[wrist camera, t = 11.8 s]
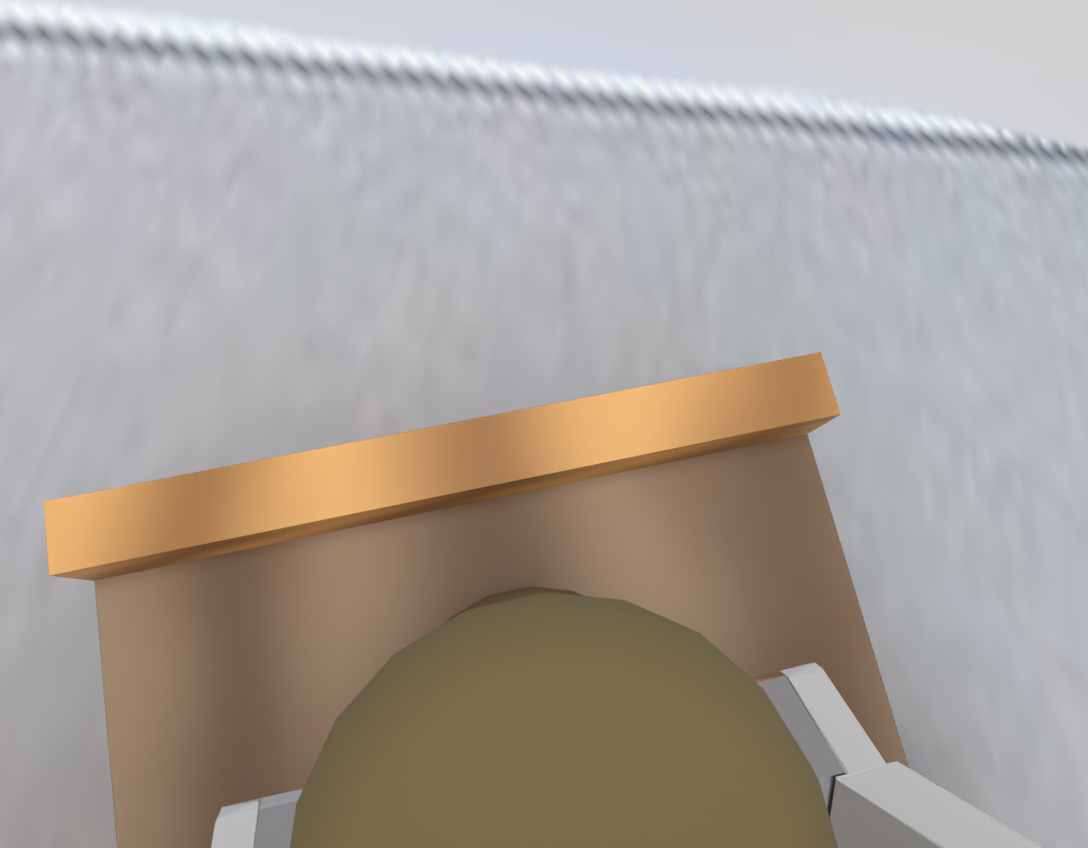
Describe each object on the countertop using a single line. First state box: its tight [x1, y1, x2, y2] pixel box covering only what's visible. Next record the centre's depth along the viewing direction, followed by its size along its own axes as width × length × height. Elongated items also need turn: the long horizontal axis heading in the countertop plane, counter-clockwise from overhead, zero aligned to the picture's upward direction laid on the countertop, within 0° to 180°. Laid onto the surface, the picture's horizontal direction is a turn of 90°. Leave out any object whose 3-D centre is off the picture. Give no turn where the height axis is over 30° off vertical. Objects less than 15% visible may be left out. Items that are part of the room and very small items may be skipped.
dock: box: [44, 352, 909, 848], centre depth 19 cm, size 18×14×5 cm
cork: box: [290, 586, 838, 848], centre depth 11 cm, size 6×6×11 cm
